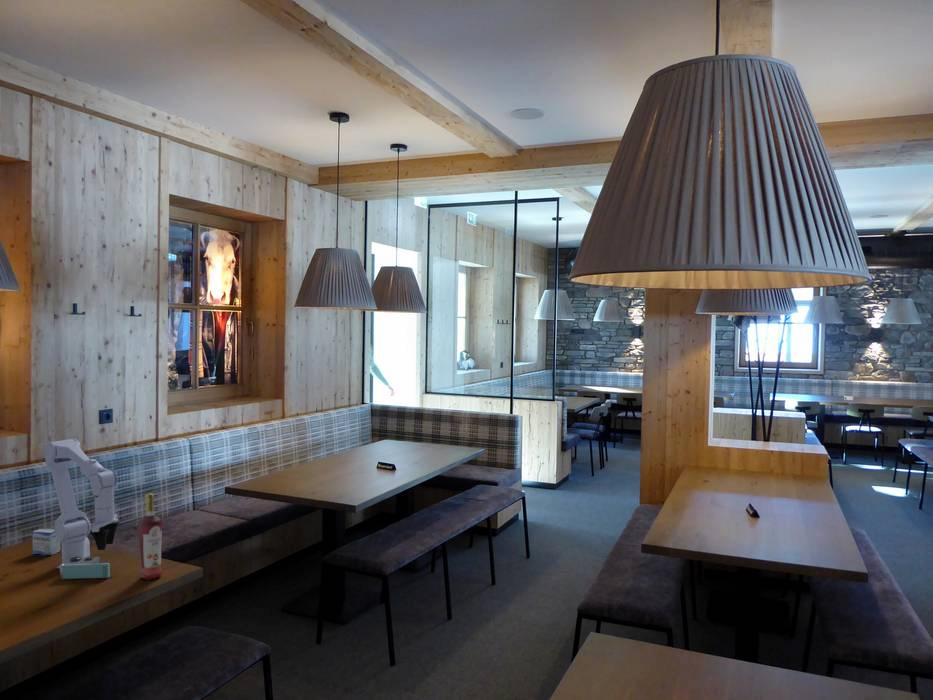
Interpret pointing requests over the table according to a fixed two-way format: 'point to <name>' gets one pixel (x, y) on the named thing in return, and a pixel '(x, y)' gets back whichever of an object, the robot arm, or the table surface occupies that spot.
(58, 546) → the medicine box
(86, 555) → the robot arm
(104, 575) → the side door
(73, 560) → the camera case
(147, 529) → the liquor
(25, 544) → the table surface
